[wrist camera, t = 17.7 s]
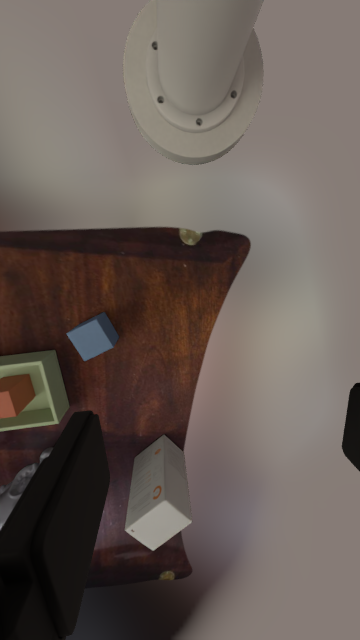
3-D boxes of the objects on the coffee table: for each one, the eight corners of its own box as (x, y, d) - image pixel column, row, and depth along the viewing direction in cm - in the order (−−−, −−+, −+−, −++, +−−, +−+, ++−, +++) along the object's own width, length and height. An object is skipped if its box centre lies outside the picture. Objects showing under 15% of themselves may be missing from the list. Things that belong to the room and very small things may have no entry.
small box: (155, 475, 47) (152, 552, 35) (133, 457, 46) (122, 531, 33) (185, 452, 46) (193, 523, 34) (164, 432, 45) (165, 499, 32)
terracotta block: (3, 376, 39) (-23, 394, 34) (29, 373, 39) (8, 391, 34) (10, 399, 40) (-13, 420, 35) (35, 396, 40) (16, 416, 35)
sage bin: (-31, 359, 39) (-56, 372, 34) (55, 349, 39) (41, 360, 35) (-10, 417, 41) (-31, 435, 37) (69, 406, 42) (58, 423, 38)
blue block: (78, 324, 38) (66, 333, 34) (104, 311, 38) (96, 318, 33) (93, 349, 40) (84, 361, 35) (119, 337, 39) (113, 347, 35)
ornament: (106, 434, 44) (63, 564, 25) (106, 514, 49) (71, 673, 30) (8, 434, 42) (-116, 571, 24) (18, 516, 47) (-78, 685, 28)
